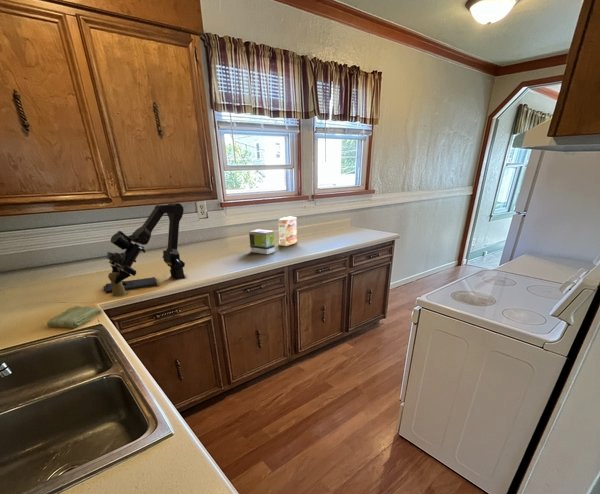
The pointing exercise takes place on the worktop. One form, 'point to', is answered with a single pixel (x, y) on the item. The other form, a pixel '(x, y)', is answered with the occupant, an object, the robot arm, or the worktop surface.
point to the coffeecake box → (287, 231)
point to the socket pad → (133, 284)
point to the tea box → (262, 241)
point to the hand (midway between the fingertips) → (113, 282)
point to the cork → (116, 285)
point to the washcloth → (73, 317)
